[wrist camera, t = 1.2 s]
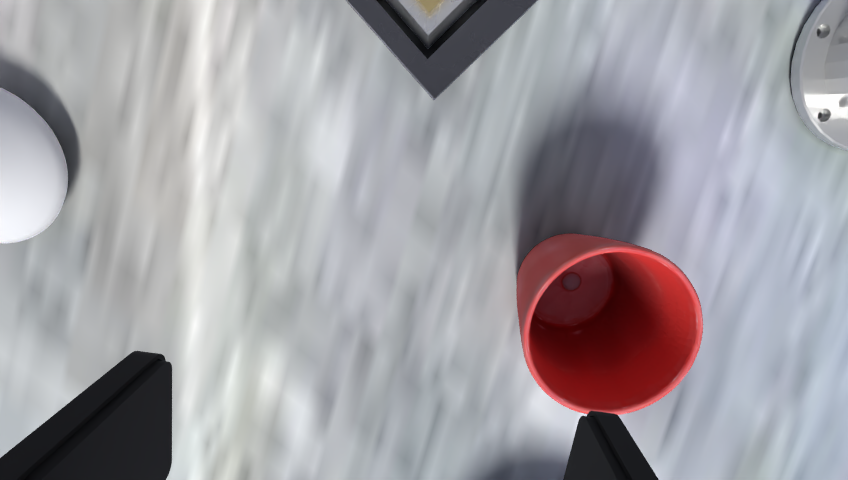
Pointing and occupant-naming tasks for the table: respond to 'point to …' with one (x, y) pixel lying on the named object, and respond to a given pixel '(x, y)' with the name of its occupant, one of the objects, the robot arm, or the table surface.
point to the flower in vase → (28, 171)
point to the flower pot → (606, 322)
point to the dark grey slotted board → (456, 52)
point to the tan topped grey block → (430, 16)
